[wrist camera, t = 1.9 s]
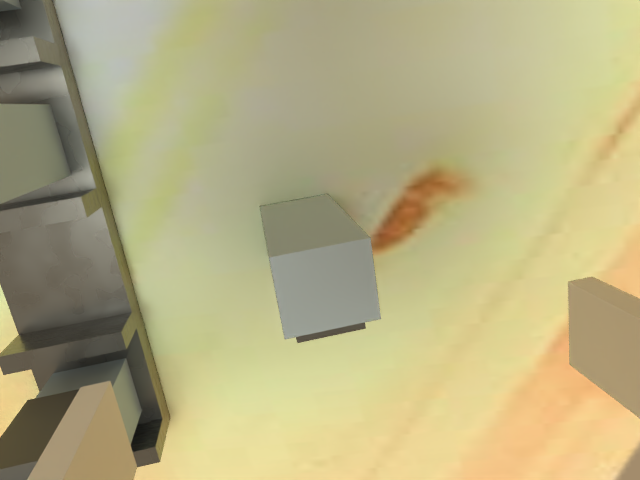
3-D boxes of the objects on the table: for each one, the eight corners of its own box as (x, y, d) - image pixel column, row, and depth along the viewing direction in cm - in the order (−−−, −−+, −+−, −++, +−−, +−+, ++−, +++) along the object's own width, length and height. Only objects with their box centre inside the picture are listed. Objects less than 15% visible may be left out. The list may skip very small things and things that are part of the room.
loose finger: (259, 206, 28) (268, 257, 19) (327, 193, 29) (370, 237, 19) (273, 275, 29) (287, 356, 20) (337, 262, 30) (383, 336, 20)
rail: (-120, -99, 22) (-195, -142, 18) (20, -114, 23) (-26, -159, 19) (71, 439, 30) (47, 488, 26) (170, 417, 31) (159, 461, 27)
